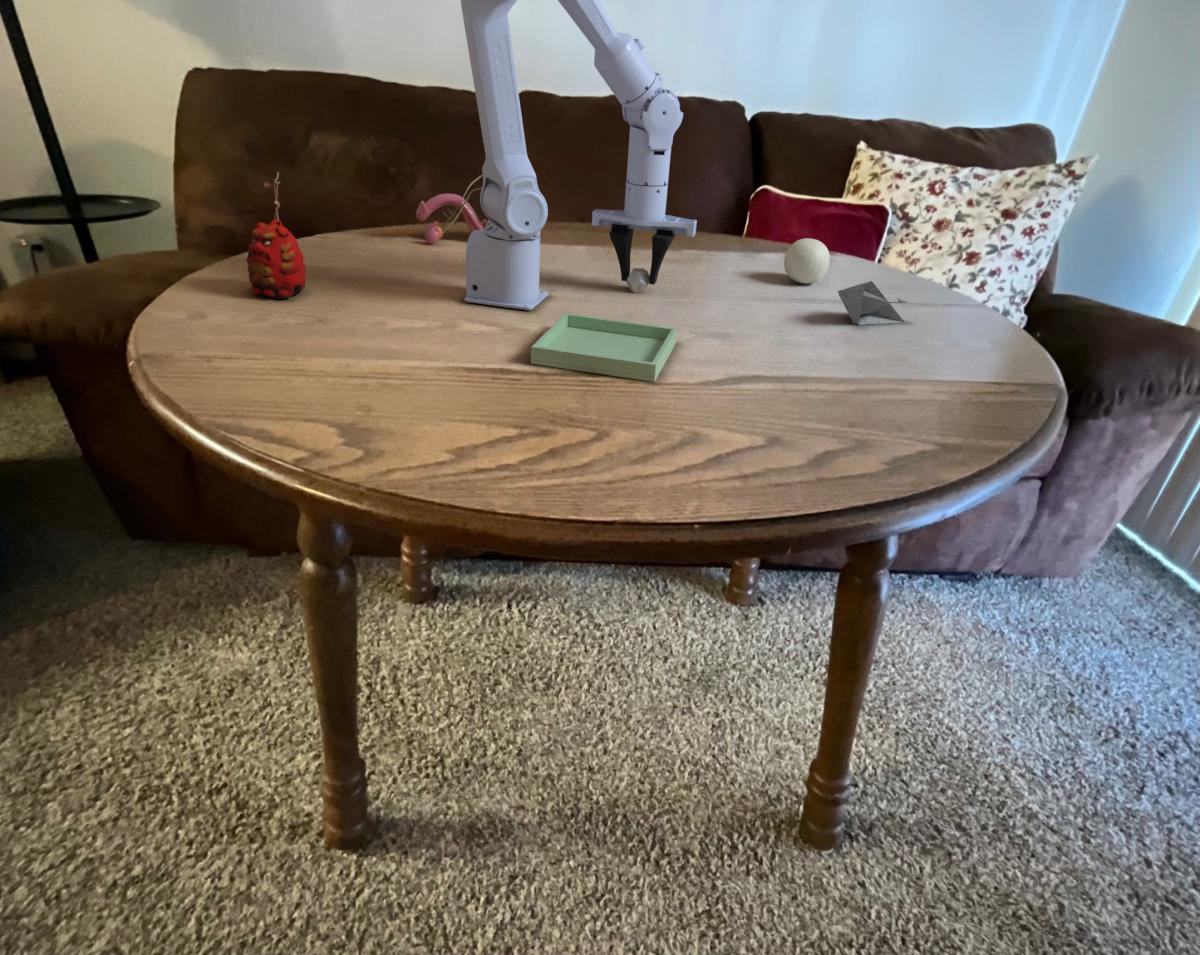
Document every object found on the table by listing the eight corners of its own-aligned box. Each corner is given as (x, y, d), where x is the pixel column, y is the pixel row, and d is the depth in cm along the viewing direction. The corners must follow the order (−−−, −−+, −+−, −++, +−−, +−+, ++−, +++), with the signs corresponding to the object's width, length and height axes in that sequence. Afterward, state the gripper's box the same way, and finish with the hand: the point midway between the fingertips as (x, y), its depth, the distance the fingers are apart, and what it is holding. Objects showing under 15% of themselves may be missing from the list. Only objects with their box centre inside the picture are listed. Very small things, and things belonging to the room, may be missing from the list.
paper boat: (870, 299, 121) (932, 298, 114) (858, 341, 121) (920, 342, 114) (829, 262, 113) (893, 258, 106) (816, 306, 112) (879, 306, 106)
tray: (530, 363, 95) (531, 346, 94) (564, 328, 106) (564, 312, 105) (654, 382, 92) (656, 364, 91) (675, 343, 103) (677, 328, 102)
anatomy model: (403, 214, 143) (461, 145, 140) (464, 267, 150) (521, 203, 147) (406, 228, 134) (468, 155, 131) (471, 284, 141) (532, 215, 138)
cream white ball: (832, 281, 133) (840, 238, 130) (816, 291, 127) (824, 246, 124) (791, 273, 136) (798, 231, 133) (774, 282, 131) (781, 238, 127)
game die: (621, 288, 123) (622, 267, 122) (643, 286, 125) (645, 266, 123) (631, 294, 120) (632, 274, 119) (654, 293, 122) (656, 272, 120)
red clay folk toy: (238, 294, 110) (220, 174, 103) (275, 282, 116) (260, 167, 109) (285, 304, 108) (270, 182, 101) (321, 290, 114) (309, 174, 107)
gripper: (703, 183, 117) (693, 280, 124) (602, 173, 120) (597, 268, 127) (696, 191, 111) (685, 292, 118) (590, 180, 114) (585, 280, 121)
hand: (639, 281), depth 122 cm, fingers closed on game die, 3 cm apart
